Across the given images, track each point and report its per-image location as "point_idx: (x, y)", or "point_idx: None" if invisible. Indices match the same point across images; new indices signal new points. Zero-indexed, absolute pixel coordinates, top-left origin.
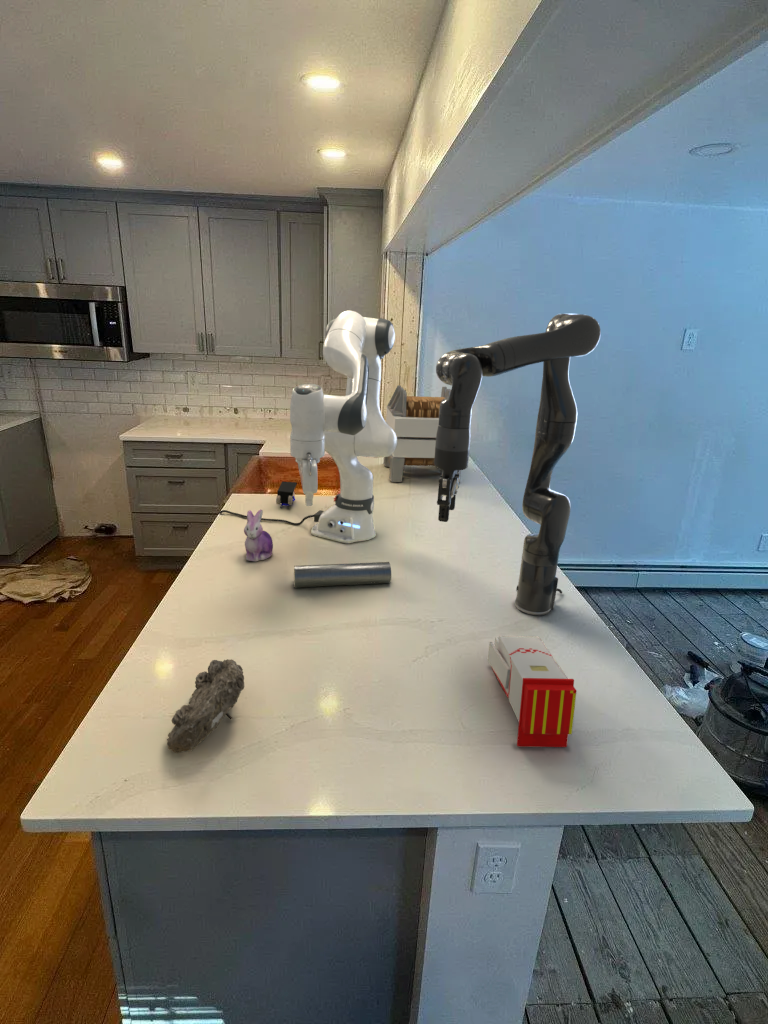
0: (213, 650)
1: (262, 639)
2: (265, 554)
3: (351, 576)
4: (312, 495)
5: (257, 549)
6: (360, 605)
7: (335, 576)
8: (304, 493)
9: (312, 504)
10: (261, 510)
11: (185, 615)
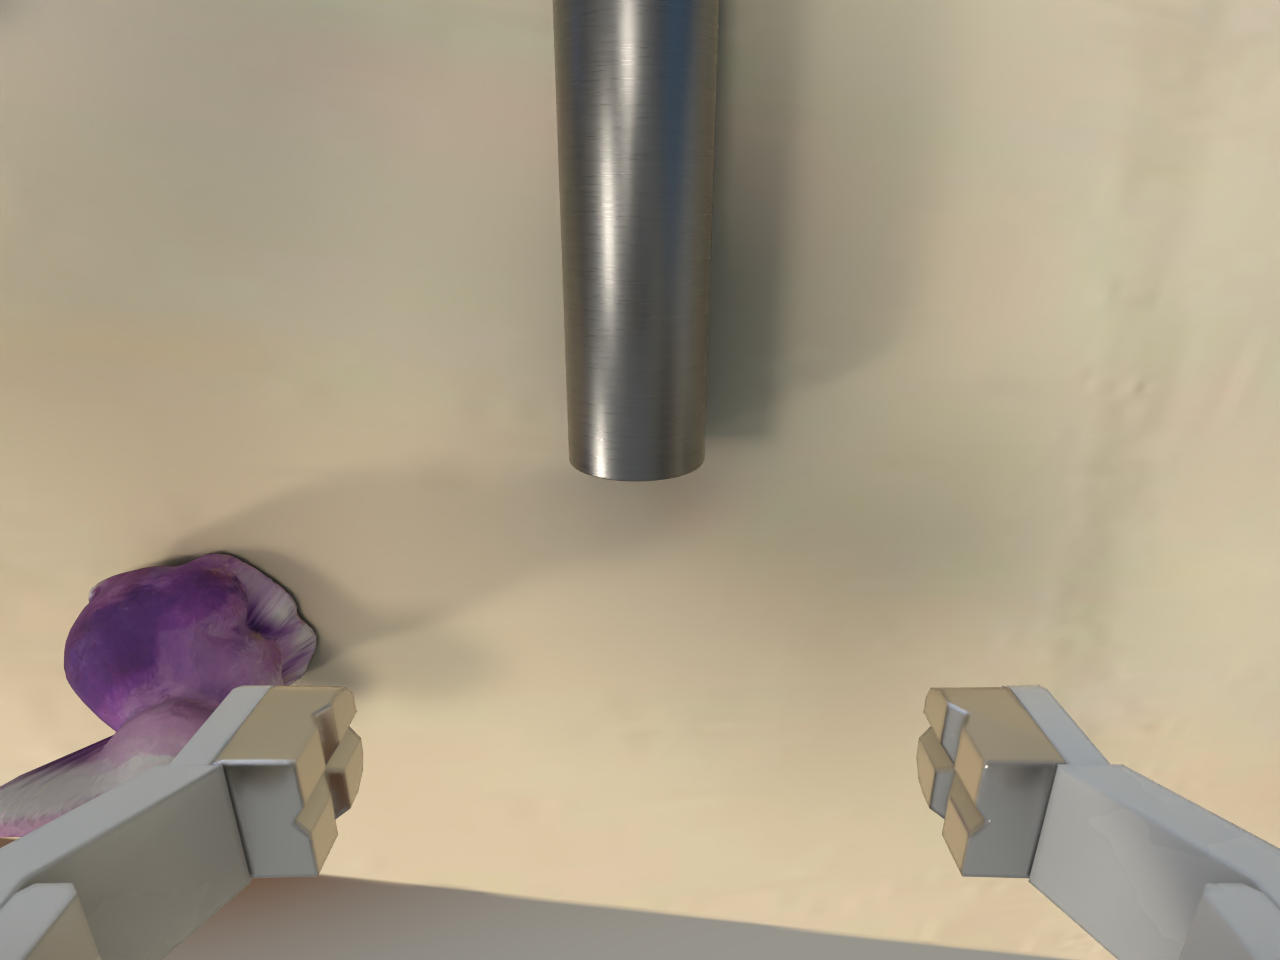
0: (1142, 757)
1: (1131, 592)
2: (255, 597)
3: (716, 57)
4: (1276, 869)
5: (275, 665)
6: (950, 42)
7: (711, 188)
8: (359, 779)
9: (1050, 693)
10: None
11: (843, 863)
